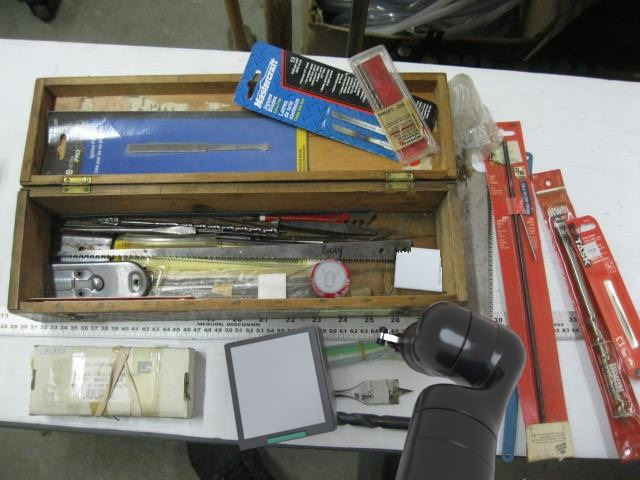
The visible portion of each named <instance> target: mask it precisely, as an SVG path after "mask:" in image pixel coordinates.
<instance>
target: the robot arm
mask: <svg viewBox="0 0 640 480" xmlns="http://www.w3.org/2000/svg"><path fill="white" fill-rule="evenodd" d="M375 343H376V344H378V345H379V346H381V347H387V346H388V348H390V349H391V350H394V352H395V353H396V352H398V353H401V355H402V358H403V360H404V363H405V364H406V365H407V366H408V367H409V368H410V369H411V370H413V371H415V372H416V373H419V374H422V375H425V376H427V377H431V378H441V379H447V380H449V381H451V382H454V383H449V382H447V383H445V382H443V383H442V382H441V383H440V382H439V383H434V384H430V385H428V386H426V387H424V388H423V389H422V390H421V391H420V393H419V394H418V396H417V397H416V400H415V402H414V406H413V409H412V412H411V416H410V417H411V418H410V421H409V425H408V428H407V433H406V436H405V440H404V443H403V447H402V452H401V457H400V460H399V465H398V469H397V472H396V475H395V479H394V480H494V479H495V471H496V459H497V452H498V451H497V449H498V441H499V440H498V439H499V432H500V429H501V425H502V422H503V418H504V415H505V413H506V410H507V408H508V405H509V402H510V399H511V397H512V395H513V393H514V392H515V389H516V387H517V386H518V384H519V382H520V380H521V378H522V376H523V373H524V371H525V368H526V365H527V360H528V359H527V357H528V356H527V350H526V347H525V344H524V341H523V340H522V338H521V337H520V335H519V334H518V333H517V332H516V331H515V330H514V329H511V328H510V327H508V326H506V325H504V324H502V323H500V322H497V321H495V320H493V319H490V318H489V317H486V316H484V315H482V314H480V313H477V312H475V311H473V310H471V309H468V308H466V307H464V306H462V305H459V304H457V303H455V302H450V301H437V302H433V304H430V305H429V306H428V307H427V308H426V309H425V310H424V312H423V313H422V314H421V316H420V317H419V319H418V320H416V321H414V322H412V323H410V324H409V325H408V326H407V327H406V328H405V329H404V330H401V329H400V330H399V331H398V332H397V331H394V332H393V331H392V332H391V329H388V328H387V327H386V326H379V327H378V332H377V335H376V341H375ZM403 360H402V361H403Z"/></svg>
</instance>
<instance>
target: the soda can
mask: <svg viewBox="0 0 640 480" xmlns="http://www.w3.org/2000/svg"><path fill="white" fill-rule="evenodd" d="M310 284H311V287H312V290H313V291H314V293H315V294H316V296H317V297H318V298H319V297H320V298H319V299H321V298H337V297H342V298H344V297H345V296H346V294H347V293H348V290H349V288H350V284H351V274H350V271H349V269H348V267H347V265H345V264H344V263H343V262H342V261H340V260H338V259H335V258H326V259H323V260H321V261H319V262H318V263H317V264H315V266H314V267H313V269H312V271H311V274H310Z"/></svg>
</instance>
